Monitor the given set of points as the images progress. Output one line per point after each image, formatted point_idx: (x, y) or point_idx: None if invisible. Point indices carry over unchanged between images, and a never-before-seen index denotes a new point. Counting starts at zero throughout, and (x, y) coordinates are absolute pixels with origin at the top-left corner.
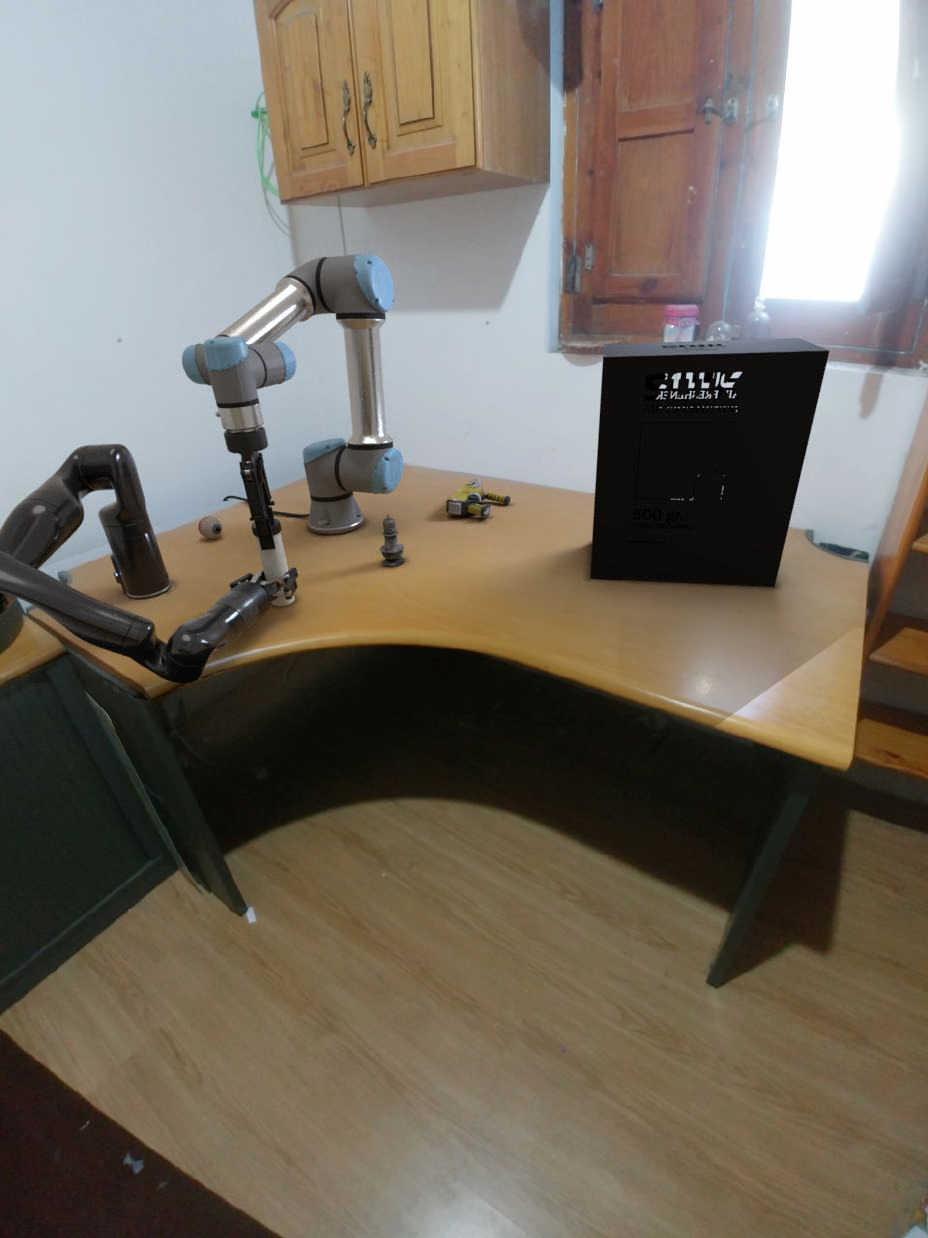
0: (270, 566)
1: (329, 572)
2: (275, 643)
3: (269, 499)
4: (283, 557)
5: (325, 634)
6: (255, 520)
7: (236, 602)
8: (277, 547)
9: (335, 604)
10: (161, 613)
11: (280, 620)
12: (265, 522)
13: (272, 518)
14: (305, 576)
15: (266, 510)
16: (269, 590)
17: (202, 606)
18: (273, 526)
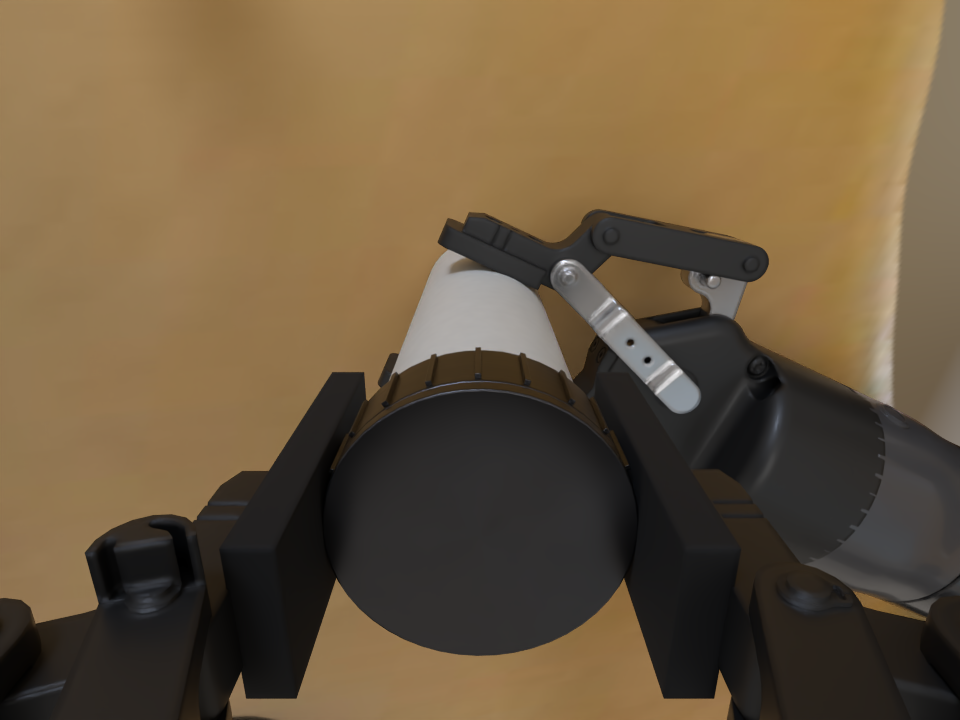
0: None
1: (184, 54)
2: (865, 295)
3: (144, 645)
4: (520, 304)
5: (897, 67)
6: (714, 679)
7: (956, 508)
8: (559, 357)
9: (601, 13)
10: (455, 704)
11: (670, 290)
12: (749, 557)
13: (342, 475)
14: (219, 196)
15: (293, 589)
16: (736, 357)
17: None
18: (609, 441)
